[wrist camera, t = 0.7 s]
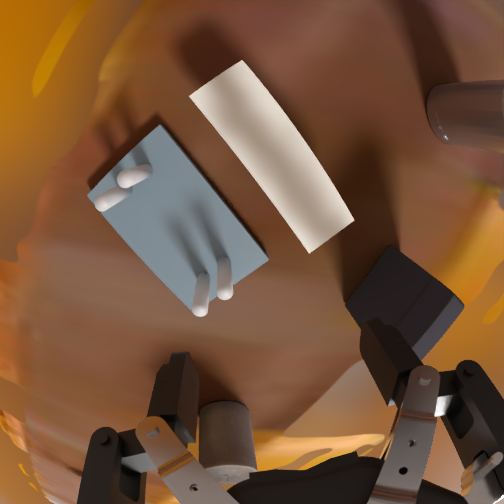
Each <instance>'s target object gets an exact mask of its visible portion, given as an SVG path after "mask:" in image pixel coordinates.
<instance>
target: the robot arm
mask: <svg viewBox="0 0 504 504" xmlns="http://www.w3.org/2000/svg"><path fill="white" fill-rule="evenodd" d="M427 115H428V119H429V123H430V125H431V128H432V129H433V131H434V133H435V134H436V136H437V137H438V138H439V139H440V140H441V141H443V142H445V143H447V144H451V145H458V146H465V147H471V148H477V149H483V150H489V151H494V152H499V153H504V80H487V81H472V82H461V83H451V84H443V85H437V86H435V87H434V88H433V89H432V90H431V91H430V93H429V95H428V99H427ZM360 352H361V355H362V358H363V360H364V361H365V363H366V365H367V367H368V369H369V371H370V373H371V375H372V377H373V379H374V380H375V382H376V384H377V386H378V388H379V390H380V392H381V394H382V396H383V398H384V400H385V402H386V404H387V406H388V407H389V406H391V405H394V404H396V406H397V408H398V409H397V412H396V415H395V418H394V421H393V425H392V427H391V430H390V433H389V436H388V439H387V442H386V444H385V447H384V449H383V451H382V454H381V456H380V458H374V457H364V456H361V457H358V455H357V452H356V451H355V452H352V453H348V454H345V455H341V456H338V457H334V458H330V459H328V460H326V461H324V462H322V463H320V464H318V465H316V466H314V467H311V468H309V469H307V470H278V469H275V470H268V471H260V472H251V473H249V479H246V480H244V481H241V482H239V483H237V484H236V485H234V486H232V487H231V488H230V489H228V490H227V491H225V490H224V489H223V488H222V487H221V486H220V484H219V483H218V482H217V481H216V480H215V479H214V478H213V477H212V476H211V475H210V474H209V473H208V472H207V471H206V470H205V469H204V468H203V466H202V465H201V464H200V463H199V462H198V461H197V460H196V459H195V457H194V456H193V455H192V454H191V453H190V452H189V451H188V450H187V446H188V443H196V428H197V414H198V401H199V389H200V381H199V376H198V373H197V370H196V368H195V365H194V363H193V360H192V358H191V356H190V353H189V352H180V353H172V355H171V359H170V363H169V364H167V365H163V366H162V367H161V369H160V370H159V371H158V373H157V376H156V380H155V384H154V388H153V389H154V391H153V392H152V397H151V401H150V405H149V410H148V414H147V417H146V418H144V419H142V420H141V421H140V422H139V423H138V425H137V426H136V428H135V429H132V430H128V431H124V432H119V433H117V432H116V431H115V430H114V429H113V428H110V427H102V428H99V429H97V430H96V431H95V432H94V433H93V434H92V436H91V439H90V443H89V447H88V451H87V456H86V460H85V464H84V469H83V474H82V479H81V484H80V489H79V495H78V500H77V504H145V489H146V475H147V471H152V470H156V469H158V471H159V472H158V474H159V475H160V477H161V478H162V480H163V481H164V483H165V484H166V485H167V487H168V488H169V489H170V491H171V492H172V493H173V495H174V496H175V497H176V498H177V500H178V501H179V502H180V503H181V504H495V503H496V502H498V501H500V500H501V499H503V498H504V399H503V398H502V396H501V395H500V393H499V392H498V390H497V389H496V387H495V386H494V384H493V383H492V382H491V380H490V379H489V377H488V376H487V374H486V373H485V372H484V370H483V369H482V368H481V366H480V365H479V364H478V363H476V362H475V361H472V360H464V361H462V362H460V363H459V364H458V365H457V367H456V370H452V371H444V372H438V371H437V370H436V369H435V368H433V367H431V366H428V365H424V364H423V363H422V362H421V360H420V359H419V358H418V356H417V355H416V353H415V352H414V351H413V349H412V348H411V346H410V345H409V344H408V342H407V341H406V340H405V338H403V336H402V334H401V333H400V332H399V330H398V329H396V328H395V327H393V326H391V325H390V324H389V325H386V326H385V325H384V324H383V322H382V321H381V320H380V318H379V317H375V318H371V319H367V320H364V321H362V325H361V336H360ZM436 416H440V417H441V419H442V421H443V423H444V425H445V427H446V429H447V431H448V433H449V435H450V437H451V440H452V442H453V444H454V446H455V448H456V450H457V452H458V455H459V457H460V459H461V461H462V464H463V466H464V468H465V470H464V472H463V473H462V476H461V488H462V491H461V495H460V494H458V493H456V492H453V491H450V490H448V489H445V488H443V487H440V486H438V485H436V484H433V483H431V482H429V481H426V480H424V479H422V477H423V474H424V471H425V468H426V464H427V461H428V457H429V454H430V450H431V446H432V441H433V437H434V432H435V428H436V423H437V417H436Z"/></svg>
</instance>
